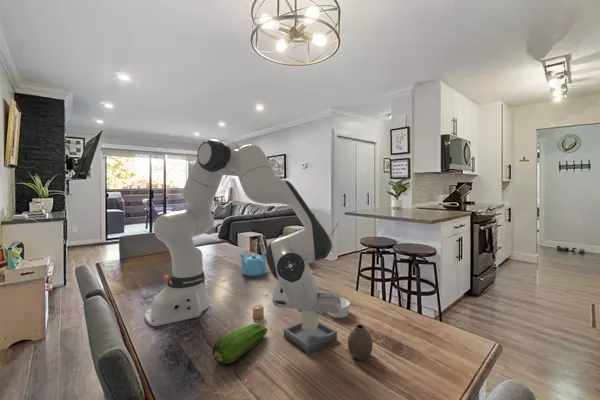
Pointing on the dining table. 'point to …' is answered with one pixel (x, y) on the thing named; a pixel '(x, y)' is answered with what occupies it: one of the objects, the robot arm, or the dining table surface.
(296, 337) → the tray
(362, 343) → the vase
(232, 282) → the dining table surface
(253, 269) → the teapot
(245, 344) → the vegetable
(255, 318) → the tan small cylinder
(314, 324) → the cream block
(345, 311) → the ramekin
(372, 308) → the dining table surface
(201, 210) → the robot arm
